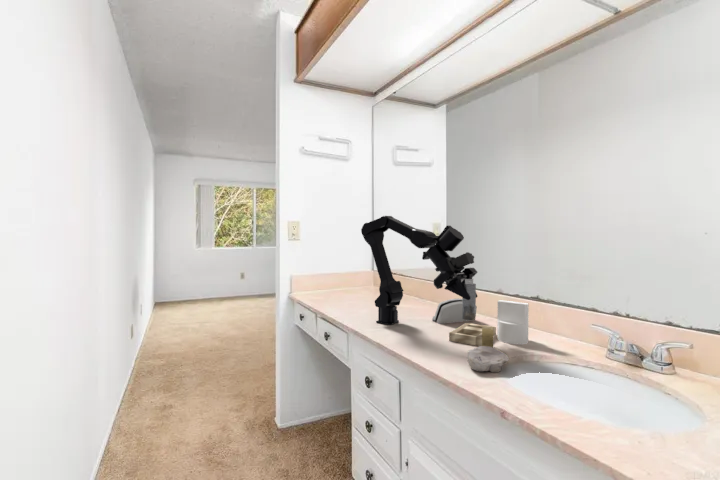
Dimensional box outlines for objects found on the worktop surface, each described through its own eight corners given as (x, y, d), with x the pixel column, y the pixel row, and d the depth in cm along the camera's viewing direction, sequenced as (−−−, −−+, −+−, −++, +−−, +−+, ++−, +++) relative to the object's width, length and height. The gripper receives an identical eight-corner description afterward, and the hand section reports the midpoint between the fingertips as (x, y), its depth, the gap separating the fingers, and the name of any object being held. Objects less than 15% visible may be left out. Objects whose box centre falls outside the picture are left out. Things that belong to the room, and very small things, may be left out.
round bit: (461, 319, 113) (462, 279, 112) (462, 316, 116) (462, 278, 116) (475, 320, 111) (475, 280, 111) (475, 317, 115) (475, 278, 115)
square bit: (481, 353, 101) (481, 328, 101) (482, 350, 104) (482, 326, 104) (493, 354, 100) (493, 329, 100) (493, 351, 103) (493, 326, 103)
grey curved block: (467, 317, 146) (473, 295, 142) (474, 324, 141) (480, 301, 138) (431, 320, 140) (435, 297, 137) (437, 327, 136) (441, 304, 133)
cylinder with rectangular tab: (532, 339, 115) (532, 302, 115) (522, 346, 108) (522, 306, 108) (503, 334, 121) (503, 298, 121) (492, 340, 114) (493, 302, 114)
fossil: (517, 359, 88) (487, 348, 85) (507, 384, 88) (476, 374, 84) (492, 346, 96) (464, 335, 93) (483, 369, 96) (454, 359, 92)
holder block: (449, 340, 113) (449, 332, 113) (466, 329, 127) (466, 322, 127) (481, 346, 108) (481, 338, 108) (495, 334, 121) (495, 326, 121)
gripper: (442, 244, 110) (476, 284, 102) (472, 243, 123) (504, 279, 115) (420, 268, 115) (451, 308, 108) (451, 265, 128) (480, 300, 121)
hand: (473, 298), depth 113 cm, fingers closed on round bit, 4 cm apart
